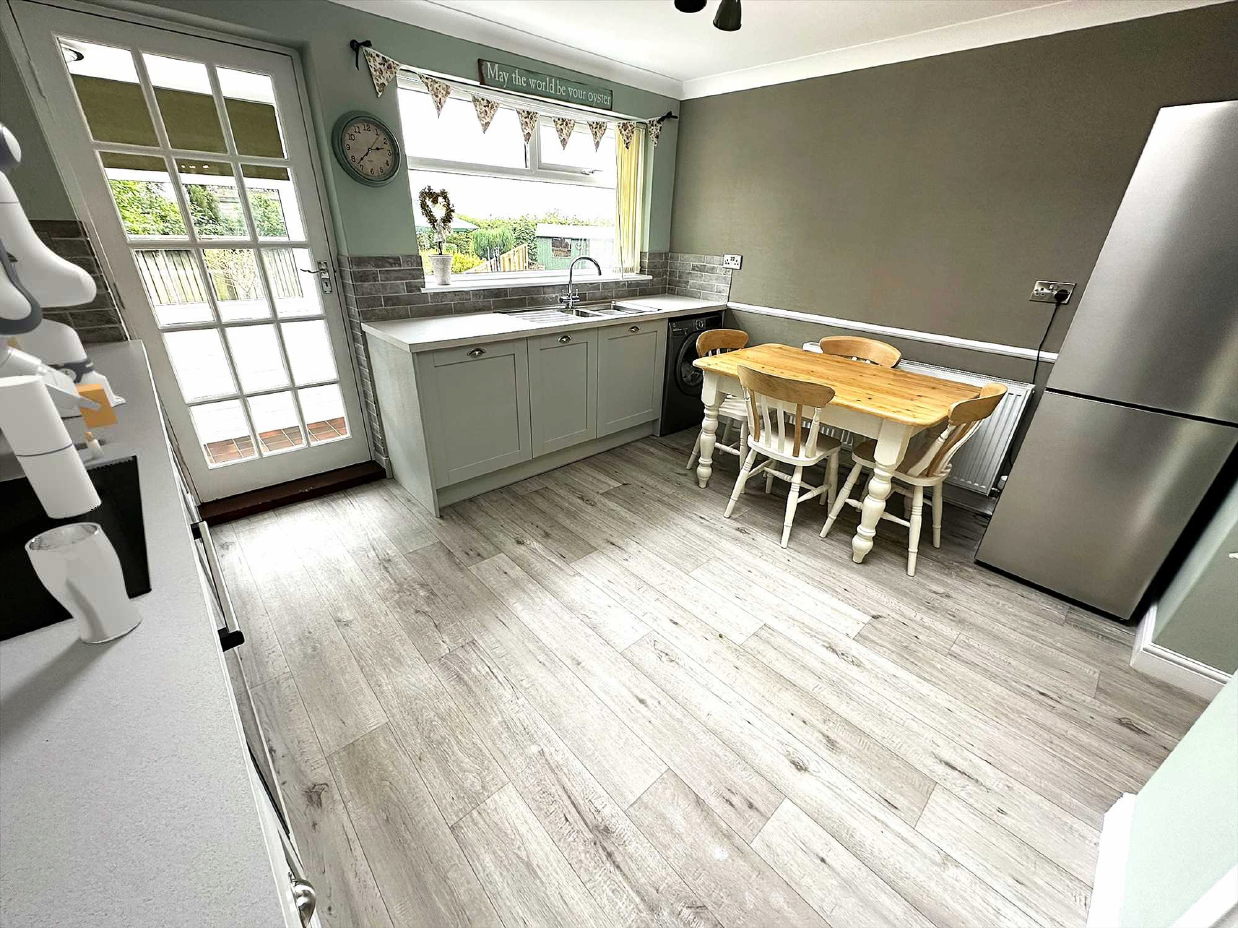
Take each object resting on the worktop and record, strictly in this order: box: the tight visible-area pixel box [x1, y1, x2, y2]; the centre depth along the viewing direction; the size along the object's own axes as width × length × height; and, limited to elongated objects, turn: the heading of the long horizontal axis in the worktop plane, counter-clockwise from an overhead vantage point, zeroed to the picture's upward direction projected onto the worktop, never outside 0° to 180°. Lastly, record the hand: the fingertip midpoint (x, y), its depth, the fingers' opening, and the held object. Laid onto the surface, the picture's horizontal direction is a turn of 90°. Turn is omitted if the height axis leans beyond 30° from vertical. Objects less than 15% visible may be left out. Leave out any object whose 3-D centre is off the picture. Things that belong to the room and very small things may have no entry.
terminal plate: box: [76, 441, 134, 471], centre depth 113 cm, size 12×10×1 cm
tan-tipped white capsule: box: [83, 431, 104, 459], centre depth 111 cm, size 2×2×6 cm
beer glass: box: [24, 521, 143, 644], centre depth 64 cm, size 7×7×15 cm
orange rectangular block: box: [76, 383, 119, 430], centre depth 120 cm, size 5×5×9 cm
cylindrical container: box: [0, 375, 102, 519], centre depth 89 cm, size 7×7×25 cm
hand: (97, 404), depth 120 cm, fingers closed on orange rectangular block, 5 cm apart
